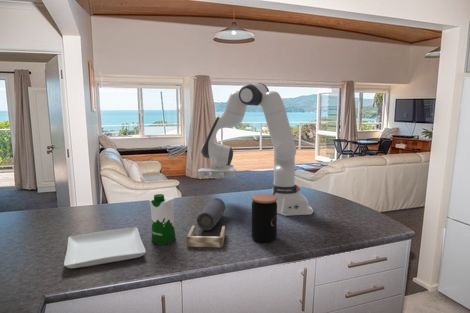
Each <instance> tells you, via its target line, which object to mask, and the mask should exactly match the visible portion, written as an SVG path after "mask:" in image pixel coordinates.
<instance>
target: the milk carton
mask: <svg viewBox="0 0 470 313" xmlns="http://www.w3.org/2000/svg"><path fill="white" fill-rule="evenodd" d="M175 202H176V197H172V196H165V194H162V193H160V194H158V193H157V194H154V195H153V198H152V199H150V200H148V203H149V206H150V207H149V208H150V213H151V214H150V215H151V216H150V217H151V243H154V244H160V245H164V246H167V245H168V244H169V243H171V242H172V241H174V240H176V231H175V212H174V211H175V209H174V208H175Z"/></svg>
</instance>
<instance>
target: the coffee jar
mask: <svg viewBox="0 0 470 313" xmlns="http://www.w3.org/2000/svg"><path fill="white" fill-rule="evenodd" d="M251 200H252V201H251V237H252V239H253V241H255V242H258V243H261V244H262V243H263V244H268V243H272V242H274V241H275V240H276V238H277V236H278V235H277V234H278V232H277V231H278V230H277V228H278V224H277V223H278V213H277V202H276V201H277V197H276V196H274V195H273V194H268V193H260V194H259V193H258V194H255V195H252V196H251Z"/></svg>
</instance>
